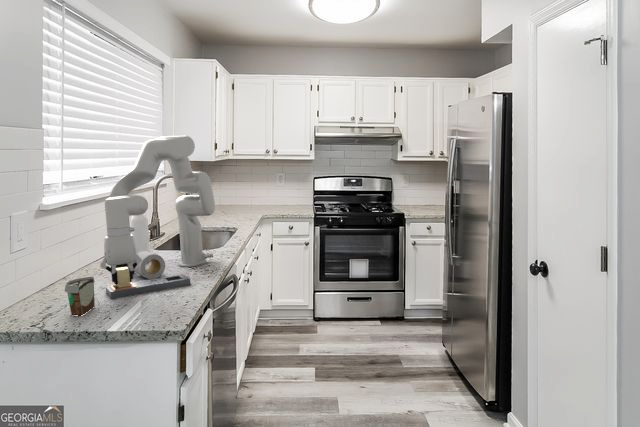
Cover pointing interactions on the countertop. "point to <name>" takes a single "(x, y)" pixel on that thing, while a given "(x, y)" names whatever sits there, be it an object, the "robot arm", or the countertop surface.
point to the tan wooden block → (123, 277)
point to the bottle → (140, 233)
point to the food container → (80, 295)
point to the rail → (148, 286)
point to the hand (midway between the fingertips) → (122, 282)
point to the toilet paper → (155, 267)
